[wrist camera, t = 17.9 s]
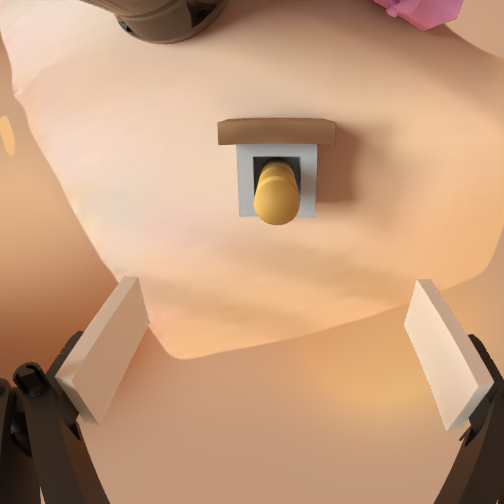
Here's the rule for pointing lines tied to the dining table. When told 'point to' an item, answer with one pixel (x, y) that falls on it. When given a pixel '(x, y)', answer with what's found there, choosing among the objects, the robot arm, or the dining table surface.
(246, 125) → the board
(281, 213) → the golden brown tall cylinder
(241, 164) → the block
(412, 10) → the teapot
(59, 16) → the dining table surface
